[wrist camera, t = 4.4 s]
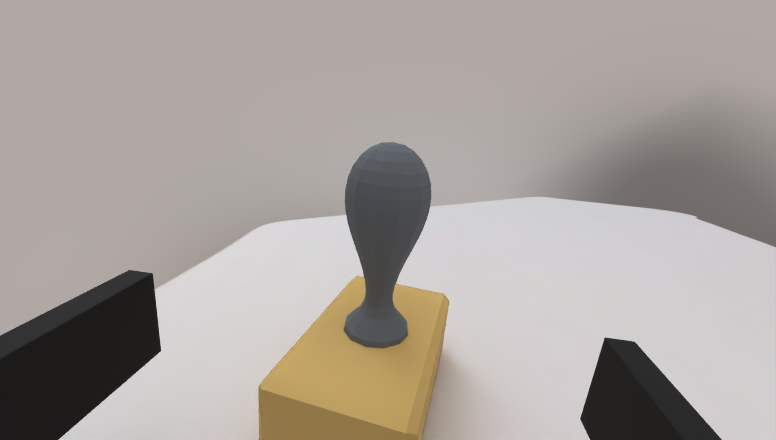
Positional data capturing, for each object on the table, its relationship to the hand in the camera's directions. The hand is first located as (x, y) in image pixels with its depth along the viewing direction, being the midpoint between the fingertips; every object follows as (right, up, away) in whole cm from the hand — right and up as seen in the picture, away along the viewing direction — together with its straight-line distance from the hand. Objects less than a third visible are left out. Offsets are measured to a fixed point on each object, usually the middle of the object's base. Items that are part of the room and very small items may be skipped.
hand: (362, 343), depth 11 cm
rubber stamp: (0, -5, +7) cm, 9 cm away
